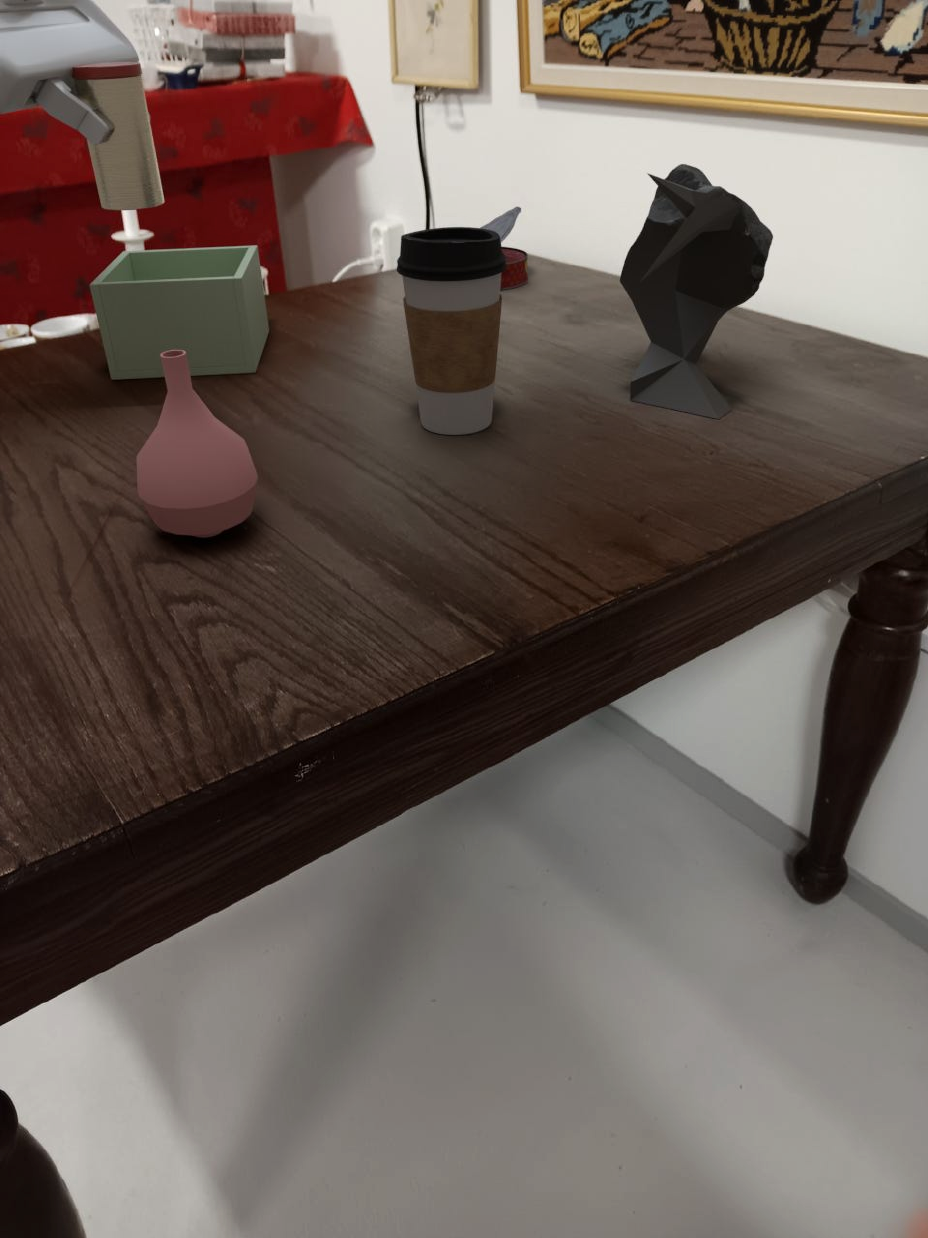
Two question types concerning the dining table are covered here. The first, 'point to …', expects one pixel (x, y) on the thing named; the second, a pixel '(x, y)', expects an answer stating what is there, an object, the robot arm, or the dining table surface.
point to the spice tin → (121, 135)
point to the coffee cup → (453, 323)
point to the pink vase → (193, 463)
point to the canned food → (510, 251)
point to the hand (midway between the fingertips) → (126, 131)
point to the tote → (182, 310)
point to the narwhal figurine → (690, 284)
